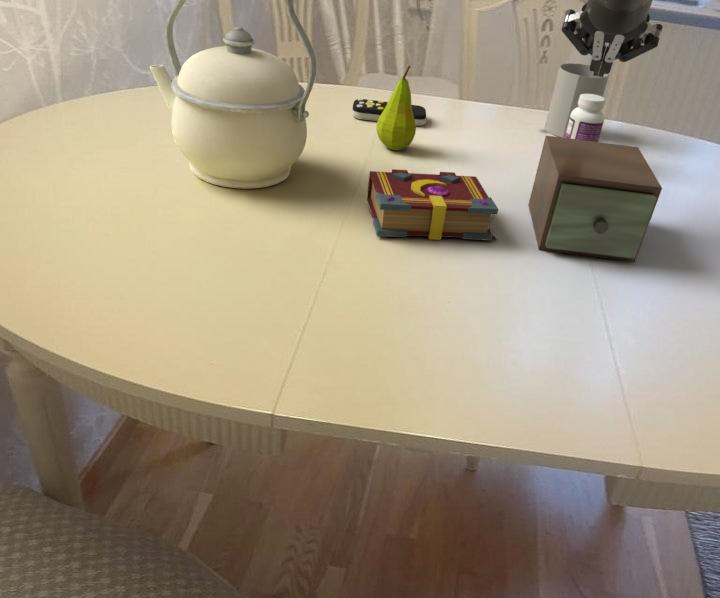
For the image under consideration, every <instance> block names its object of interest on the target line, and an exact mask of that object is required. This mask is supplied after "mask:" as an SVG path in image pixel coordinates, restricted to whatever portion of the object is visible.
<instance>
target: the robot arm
mask: <svg viewBox="0 0 720 598" xmlns="http://www.w3.org/2000/svg"><path fill="white" fill-rule="evenodd" d="M652 3H653V0H587V1H586V2H585V4H583V5H582V7H581V11H577V12H576V11H575V10H574V9H567V10H566V12H565V15H564V18H563V20H562V21H563V22H562V26H561V32H562V33H563V35H564V36H565V37H566V38H567V39H568V41H569V42H570V43H571V45H572V46H573V47H574V48H575V49H576V50H577V52H578V53H579V54H580V55H581V56H588V55H590V56H591V61H590V71H592V72H594V73H593V76H598V77H603V76H604V74H609V75H610V73H611V70H612V67H613V64H614V62H615V61H616V60H618V61H619V62H621V63H627V62H629V61H631V60H633V59H635V58H637V57H639V56H641V55H643V54H645V53H648V52H649V51H652V50H653V49H656V48H658V46H659V42H660V39H661V36H662V31H663V27H664V25H662V24H660V23H655V24H651V22H650V20H651V15H650V13H649V12H650V9H651V7H652ZM606 44H608V45H606ZM599 70H600V72H599ZM598 74H599V75H598Z"/></svg>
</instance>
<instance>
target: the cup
mask: <svg viewBox="0 0 720 598" xmlns="http://www.w3.org/2000/svg"><path fill="white" fill-rule="evenodd" d="M590 65H591V64H590ZM590 65H589V64H583V63H572V62H571V63H569V62H568V63H563V64H561V65H560V66H559V68H558V72H557V76H556V80H555V84H554V88H553V92H552V96H551V100H550V105H549V109H548V113H547V116H546V121H545V125H544V130H545V131H546V132H547V133H549V134H551V135H552V136H554V137H562V138H565V135H566V131H567V127H568V123H569V119H570V115H571V112H572V111H573V110H574V109H575V108H577V107H579V106H578V101H579V98H580V95H581V94H594V95H599V96H601V97H603V98H604V94H605V90H606V88H607V83H608V80H609V77H610V73H609V74H604V76H603V77H598V76H593V73H594V72H592V71H590ZM599 72H600V70H599ZM598 75H599V74H598Z"/></svg>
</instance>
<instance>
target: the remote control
mask: <svg viewBox="0 0 720 598" xmlns="http://www.w3.org/2000/svg"><path fill="white" fill-rule="evenodd" d="M388 102H389V101H384V100H374V99H366V98H362V97H359V98H357V99H354V101H353V103H352V109H351V110H352V111H351V114H352V116H353V118H355V119H357V120H363V121H372V122H378V119H379V117H380V115H381V114H382V112H383V111H384V109H385V107H386V105H387V104H388ZM412 112H413V116H414V119H415V122H416V127H423V126H424V125H425V124H426V122H427V110H426V108H425V107H423V106H421V105H417V104H412Z"/></svg>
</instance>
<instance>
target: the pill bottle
mask: <svg viewBox="0 0 720 598" xmlns="http://www.w3.org/2000/svg"><path fill="white" fill-rule="evenodd" d="M605 103H606V98H605V97H604V96H603V97H601V96H599V95H594V94H581V95H580V98H579V101H578V106H579V107H577V108H575V109H574V110H573V111H572V112H571V115H570V119H569V123H568V127H567V131H566V135H565V138H570V139H577V140H585V141H593V142H599V139H600V136H601V132H602V129H603V126H604V122H605V115H604V113H603V111H602V110H603V109H604V107H605Z"/></svg>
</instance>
